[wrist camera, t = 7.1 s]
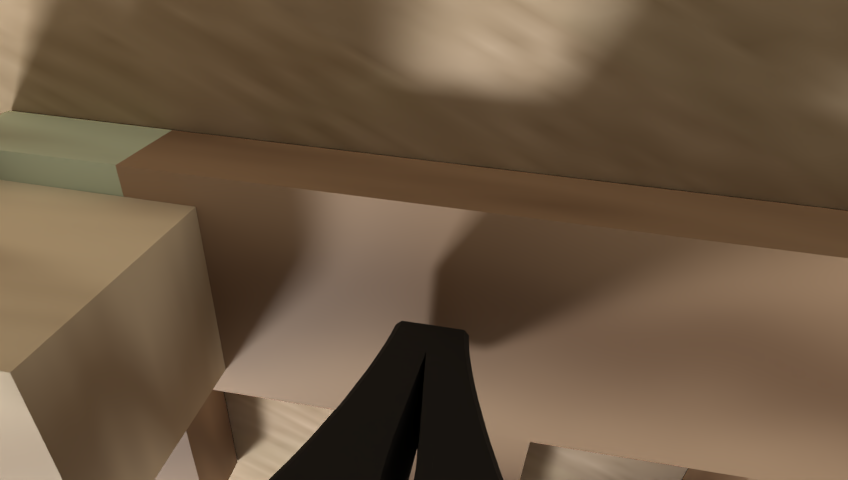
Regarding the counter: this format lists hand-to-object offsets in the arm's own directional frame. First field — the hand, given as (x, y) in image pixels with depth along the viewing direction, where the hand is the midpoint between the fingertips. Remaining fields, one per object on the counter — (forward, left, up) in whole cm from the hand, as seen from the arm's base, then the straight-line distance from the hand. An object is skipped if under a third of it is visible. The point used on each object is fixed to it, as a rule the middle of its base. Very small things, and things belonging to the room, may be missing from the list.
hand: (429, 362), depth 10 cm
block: (0, +7, -1) cm, 7 cm away
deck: (-3, -1, -3) cm, 4 cm away
